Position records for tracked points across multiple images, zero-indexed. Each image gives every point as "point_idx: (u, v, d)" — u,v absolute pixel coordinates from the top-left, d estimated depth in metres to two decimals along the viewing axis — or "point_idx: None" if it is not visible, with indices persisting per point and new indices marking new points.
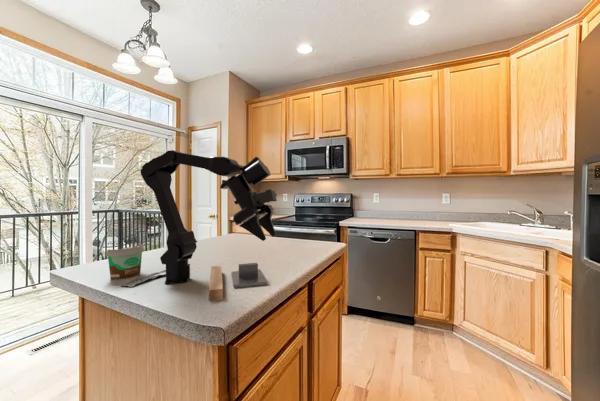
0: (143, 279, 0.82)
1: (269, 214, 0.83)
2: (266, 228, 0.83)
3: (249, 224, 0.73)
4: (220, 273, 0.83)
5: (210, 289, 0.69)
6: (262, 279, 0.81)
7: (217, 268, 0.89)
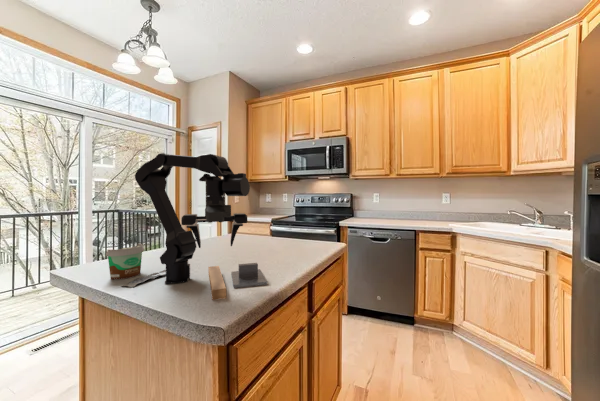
0: (143, 279, 0.82)
1: (233, 226, 0.79)
2: (231, 235, 0.82)
3: None
4: (219, 273, 0.83)
5: (213, 289, 0.69)
6: (262, 279, 0.81)
7: (215, 268, 0.88)
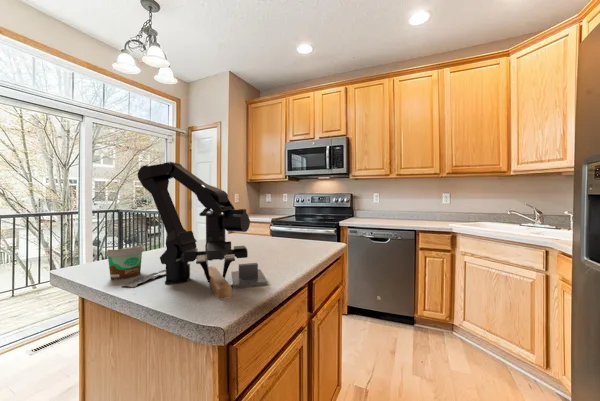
0: (144, 279, 0.82)
1: (225, 261, 0.79)
2: (223, 269, 0.82)
3: None
4: (218, 273, 0.83)
5: (219, 288, 0.70)
6: (262, 279, 0.81)
7: (212, 268, 0.88)
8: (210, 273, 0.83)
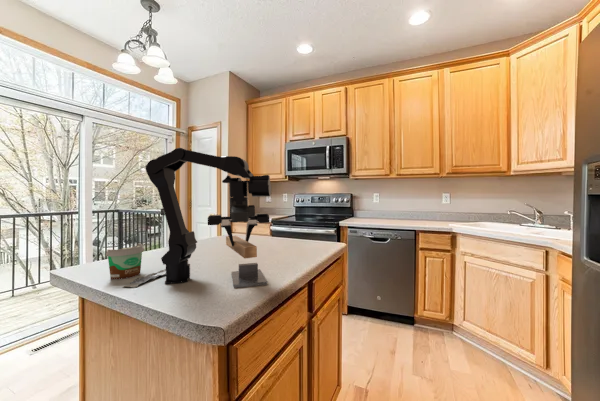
0: (144, 279, 0.82)
1: (248, 226, 0.82)
2: None
3: None
4: (241, 239, 0.86)
5: (245, 247, 0.72)
6: (262, 279, 0.81)
7: (234, 237, 0.91)
8: (233, 239, 0.86)
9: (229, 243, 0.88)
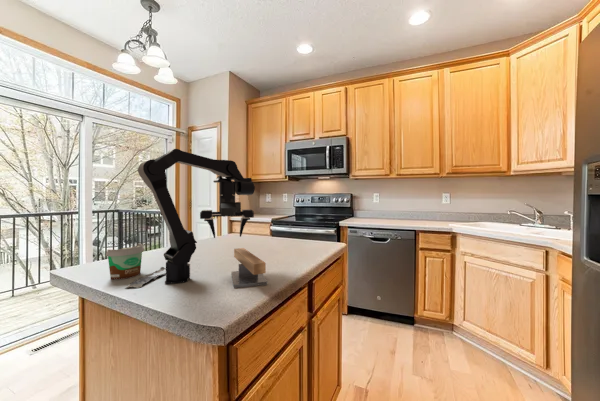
0: (146, 280, 0.82)
1: (242, 220, 0.96)
2: (240, 228, 0.99)
3: None
4: (249, 253, 0.88)
5: (254, 263, 0.74)
6: (262, 279, 0.81)
7: (242, 249, 0.93)
8: (241, 253, 0.88)
9: (237, 256, 0.90)
